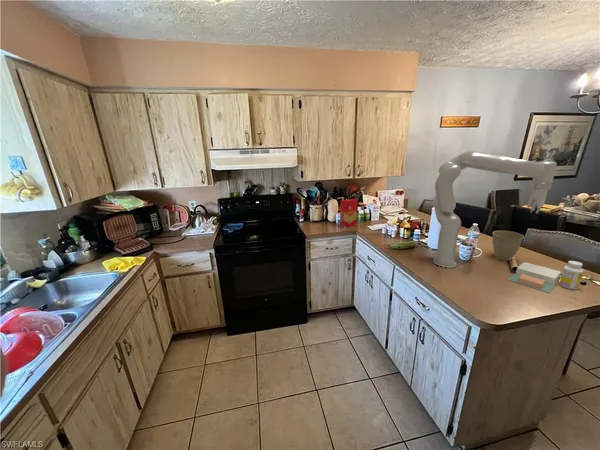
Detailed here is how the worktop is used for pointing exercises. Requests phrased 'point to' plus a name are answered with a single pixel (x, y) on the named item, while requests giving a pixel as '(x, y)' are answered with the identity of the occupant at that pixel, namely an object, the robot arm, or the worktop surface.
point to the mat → (545, 288)
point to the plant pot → (506, 244)
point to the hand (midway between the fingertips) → (532, 219)
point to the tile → (531, 281)
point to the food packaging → (348, 213)
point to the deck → (539, 272)
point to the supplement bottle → (572, 275)
